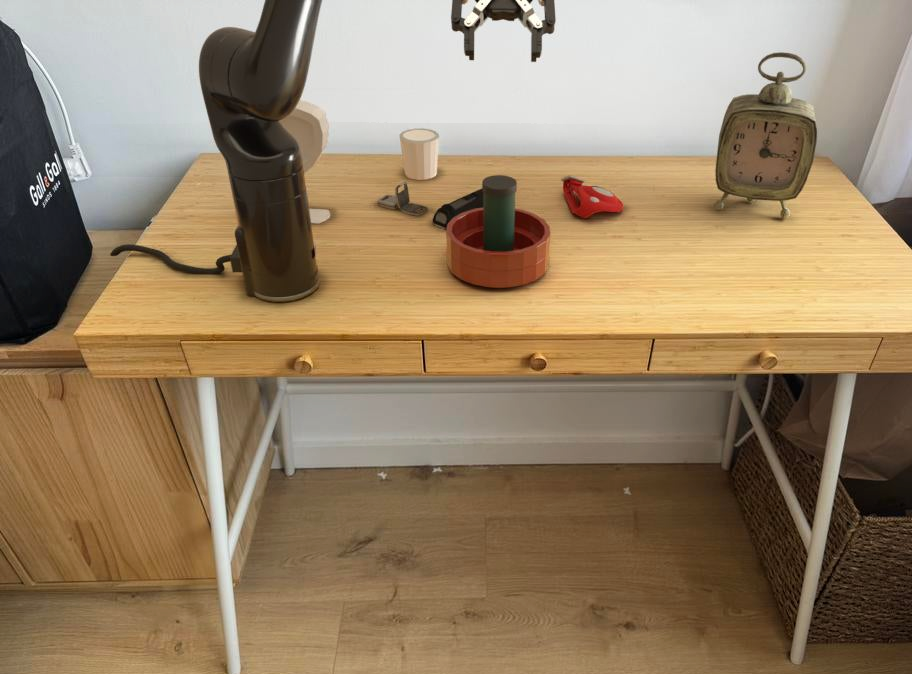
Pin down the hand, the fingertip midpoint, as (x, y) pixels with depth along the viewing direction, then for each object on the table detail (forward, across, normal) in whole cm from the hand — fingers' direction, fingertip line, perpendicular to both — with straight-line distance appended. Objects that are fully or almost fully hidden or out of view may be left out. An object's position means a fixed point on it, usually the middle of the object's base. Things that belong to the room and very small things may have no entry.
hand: (502, 58), depth 111 cm
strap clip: (+13, -16, +24) cm, 32 cm away
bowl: (+26, 0, +11) cm, 28 cm away
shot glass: (+3, -14, +34) cm, 37 cm away
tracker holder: (+11, +15, +26) cm, 32 cm away
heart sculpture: (+15, -34, +22) cm, 43 cm away
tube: (+26, 0, +10) cm, 28 cm away
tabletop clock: (+11, +42, +26) cm, 51 cm away
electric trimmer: (+14, -5, +24) cm, 28 cm away
